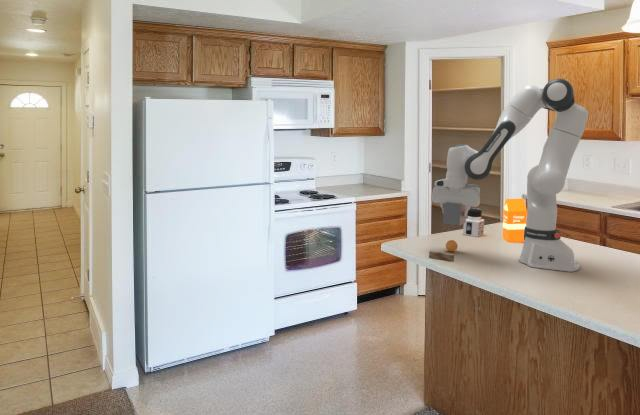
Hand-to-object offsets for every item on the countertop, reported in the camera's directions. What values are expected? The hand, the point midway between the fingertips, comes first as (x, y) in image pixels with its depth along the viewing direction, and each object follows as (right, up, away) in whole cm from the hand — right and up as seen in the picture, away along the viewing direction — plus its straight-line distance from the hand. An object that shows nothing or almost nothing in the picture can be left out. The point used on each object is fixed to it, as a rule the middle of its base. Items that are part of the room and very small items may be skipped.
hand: (454, 215), depth 225 cm
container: (+19, -11, +37) cm, 42 cm away
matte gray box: (0, -3, +1) cm, 4 cm away
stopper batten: (-8, -18, -10) cm, 22 cm away
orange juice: (+35, -13, +25) cm, 45 cm away
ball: (-1, -13, +2) cm, 14 cm away
